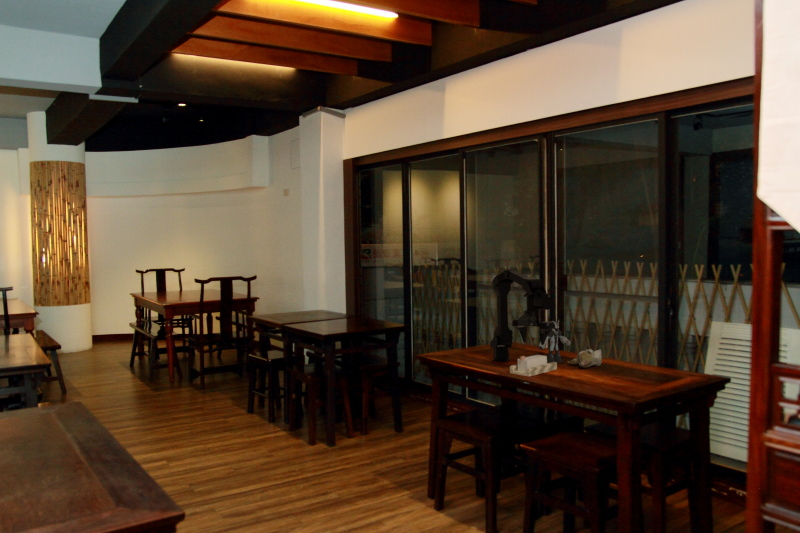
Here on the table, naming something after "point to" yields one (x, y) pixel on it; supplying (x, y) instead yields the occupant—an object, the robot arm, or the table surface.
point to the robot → (554, 344)
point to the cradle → (534, 369)
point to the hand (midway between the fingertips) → (533, 343)
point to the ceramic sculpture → (588, 358)
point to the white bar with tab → (531, 362)
